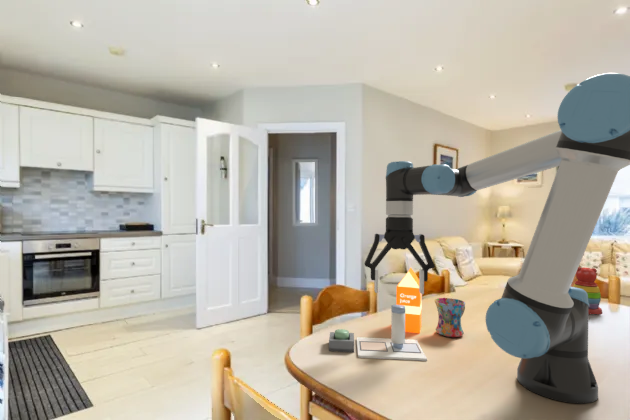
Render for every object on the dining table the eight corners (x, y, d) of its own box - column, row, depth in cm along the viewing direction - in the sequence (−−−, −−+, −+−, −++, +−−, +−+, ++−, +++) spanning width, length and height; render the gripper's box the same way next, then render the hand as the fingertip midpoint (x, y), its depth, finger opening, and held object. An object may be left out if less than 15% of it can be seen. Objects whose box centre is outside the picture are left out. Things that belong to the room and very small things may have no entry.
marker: (406, 349, 100) (406, 308, 100) (392, 349, 100) (392, 308, 100) (403, 344, 104) (403, 304, 104) (390, 344, 104) (390, 304, 104)
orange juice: (395, 330, 118) (396, 270, 118) (398, 322, 126) (399, 266, 127) (420, 333, 116) (420, 271, 116) (422, 325, 124) (422, 267, 124)
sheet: (426, 360, 94) (426, 358, 94) (358, 357, 96) (358, 354, 96) (416, 341, 108) (416, 339, 108) (356, 339, 110) (356, 336, 110)
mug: (452, 341, 109) (452, 306, 109) (428, 332, 117) (428, 299, 117) (476, 334, 115) (476, 301, 115) (452, 326, 123) (452, 295, 123)
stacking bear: (601, 310, 146) (601, 267, 146) (604, 316, 137) (605, 270, 137) (568, 306, 151) (568, 264, 151) (570, 312, 143) (570, 267, 143)
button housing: (354, 352, 99) (354, 341, 99) (328, 351, 100) (329, 340, 100) (353, 343, 106) (353, 333, 106) (330, 342, 107) (330, 332, 107)
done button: (348, 341, 101) (348, 334, 101) (334, 340, 101) (334, 333, 101) (348, 336, 105) (348, 329, 105) (335, 335, 105) (335, 328, 105)
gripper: (439, 216, 105) (439, 290, 104) (356, 215, 107) (355, 288, 107) (446, 217, 97) (446, 296, 97) (356, 216, 99) (356, 294, 99)
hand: (398, 292), depth 102 cm, fingers open, 12 cm apart
